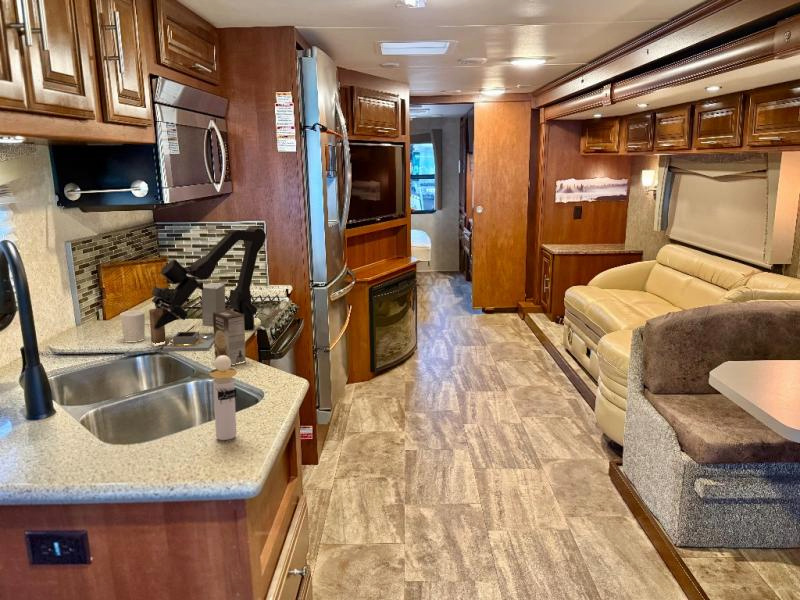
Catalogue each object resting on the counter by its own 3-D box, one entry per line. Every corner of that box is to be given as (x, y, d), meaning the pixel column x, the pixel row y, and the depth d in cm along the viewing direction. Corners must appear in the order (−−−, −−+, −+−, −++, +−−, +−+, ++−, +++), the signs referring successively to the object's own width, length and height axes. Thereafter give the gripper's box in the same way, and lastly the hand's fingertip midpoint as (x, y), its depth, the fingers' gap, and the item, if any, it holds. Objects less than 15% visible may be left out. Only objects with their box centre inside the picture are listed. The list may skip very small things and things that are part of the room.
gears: (217, 334, 217) (217, 326, 217) (208, 347, 202) (208, 338, 201) (177, 334, 216) (177, 326, 215) (165, 348, 200) (165, 339, 199)
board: (218, 336, 219) (218, 333, 219) (208, 350, 201) (208, 347, 201) (176, 336, 217) (176, 333, 217) (162, 351, 200) (162, 348, 199)
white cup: (150, 337, 215) (148, 311, 213) (139, 343, 208) (137, 316, 205) (130, 336, 216) (127, 310, 214) (117, 342, 208) (115, 315, 206)
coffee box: (213, 360, 191) (211, 312, 188) (231, 356, 196) (229, 309, 192) (229, 367, 185) (227, 317, 182) (246, 362, 190) (245, 314, 186)
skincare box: (211, 320, 241) (209, 282, 237) (227, 321, 240) (226, 283, 236) (201, 325, 233) (199, 286, 229) (218, 326, 232) (216, 287, 228)
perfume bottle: (209, 436, 137) (205, 354, 133) (233, 430, 140) (230, 350, 136) (218, 446, 132) (214, 361, 128) (243, 439, 136) (239, 356, 132)
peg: (162, 342, 210) (159, 308, 207) (165, 344, 207) (163, 310, 204) (151, 344, 207) (149, 309, 204) (155, 346, 205) (153, 311, 202)
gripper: (155, 274, 211) (125, 308, 206) (176, 281, 198) (145, 318, 193) (178, 292, 218) (150, 326, 213) (200, 301, 205) (170, 337, 200)
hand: (153, 327), depth 205 cm, fingers closed on peg, 4 cm apart
